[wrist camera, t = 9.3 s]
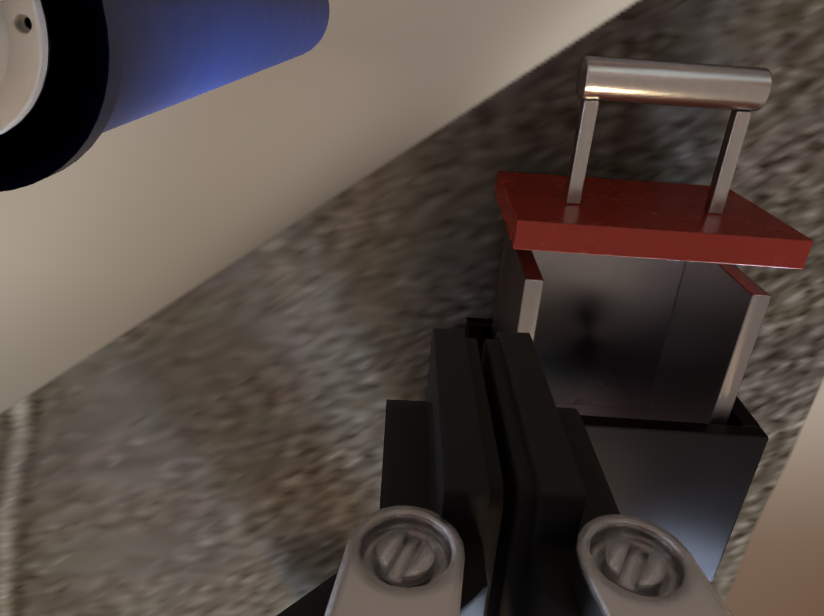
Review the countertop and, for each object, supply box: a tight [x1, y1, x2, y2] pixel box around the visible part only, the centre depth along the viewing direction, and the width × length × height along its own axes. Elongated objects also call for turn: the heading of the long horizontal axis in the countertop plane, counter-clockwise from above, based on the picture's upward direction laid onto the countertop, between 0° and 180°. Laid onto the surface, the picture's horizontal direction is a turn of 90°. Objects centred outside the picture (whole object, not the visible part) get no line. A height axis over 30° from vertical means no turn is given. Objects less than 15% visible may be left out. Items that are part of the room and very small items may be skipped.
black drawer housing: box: [465, 318, 768, 584], centre depth 34 cm, size 15×13×10 cm
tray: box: [490, 55, 813, 425], centre depth 29 cm, size 19×11×8 cm, turn 176°
